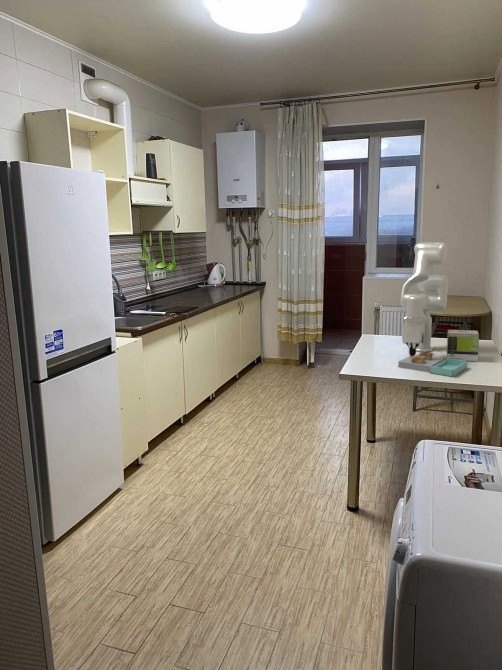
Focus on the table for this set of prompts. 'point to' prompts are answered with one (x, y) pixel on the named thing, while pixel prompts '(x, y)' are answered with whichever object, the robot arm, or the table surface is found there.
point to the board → (420, 367)
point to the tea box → (462, 345)
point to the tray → (449, 367)
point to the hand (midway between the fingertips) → (412, 355)
